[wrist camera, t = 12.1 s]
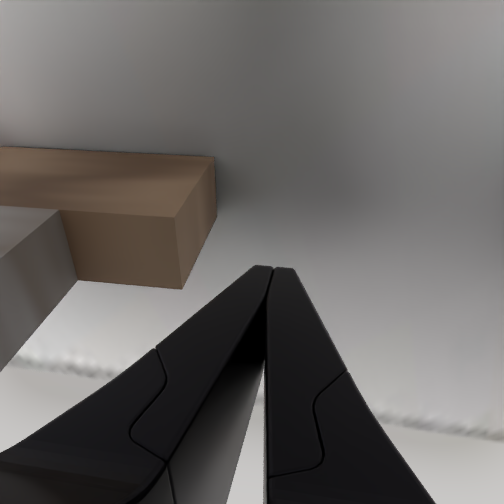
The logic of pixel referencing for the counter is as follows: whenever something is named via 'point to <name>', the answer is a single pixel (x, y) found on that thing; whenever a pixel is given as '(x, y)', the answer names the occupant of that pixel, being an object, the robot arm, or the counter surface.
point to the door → (94, 226)
